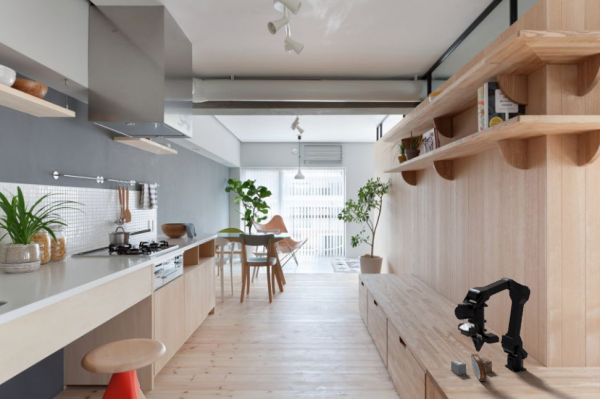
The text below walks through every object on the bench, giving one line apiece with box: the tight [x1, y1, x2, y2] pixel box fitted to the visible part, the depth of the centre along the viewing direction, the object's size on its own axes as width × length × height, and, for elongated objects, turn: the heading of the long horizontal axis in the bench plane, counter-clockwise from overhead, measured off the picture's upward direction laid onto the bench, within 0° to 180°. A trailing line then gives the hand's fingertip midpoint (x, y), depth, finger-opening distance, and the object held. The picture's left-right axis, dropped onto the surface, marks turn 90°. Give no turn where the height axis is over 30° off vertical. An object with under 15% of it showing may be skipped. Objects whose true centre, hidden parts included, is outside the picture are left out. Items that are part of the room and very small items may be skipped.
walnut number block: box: [480, 357, 493, 373], centre depth 169 cm, size 4×4×5 cm
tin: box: [470, 353, 487, 382], centre depth 163 cm, size 15×3×8 cm, turn 168°
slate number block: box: [450, 359, 467, 376], centre depth 167 cm, size 4×4×5 cm
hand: (477, 351), depth 163 cm, fingers closed
